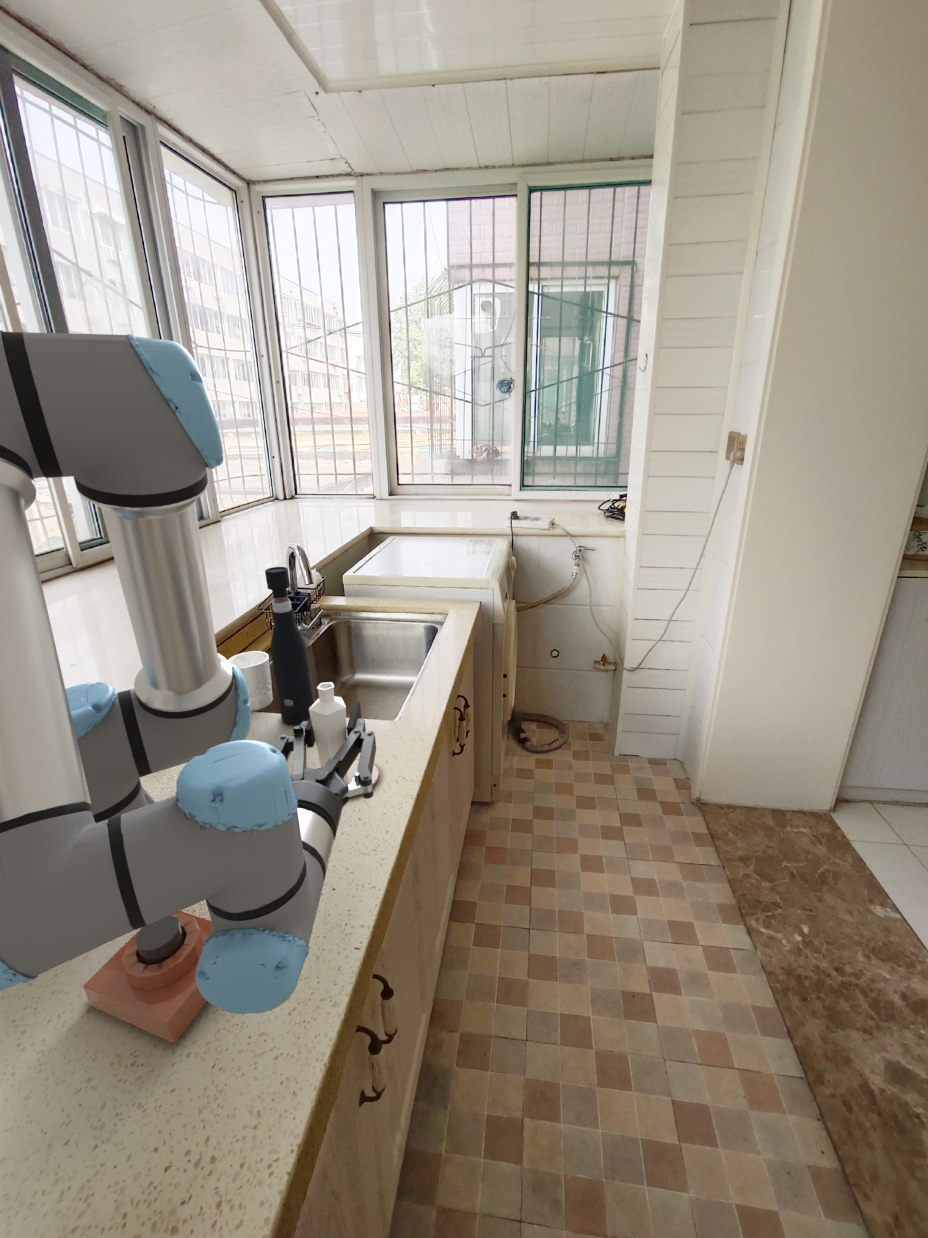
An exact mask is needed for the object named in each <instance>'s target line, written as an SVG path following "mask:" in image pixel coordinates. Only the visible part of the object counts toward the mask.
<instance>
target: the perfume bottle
mask: <svg viewBox="0 0 928 1238" xmlns="http://www.w3.org/2000/svg"><path fill="white" fill-rule="evenodd" d="M316 689H317V692H318V698H316V700H315V701H314V704H313V705H312V706H311V707H310V708H309V713H310V717H311V722H312V727H313V731H314V736H315V740H316V741H315V744H316V745H315V746H316V749H317V754H318V759H319V764H320V768H323V767H324V766H325V764H326V763H327V761H328V760H329V759H332V758H333V757H334V756H335V754H336V753H337V751H338V750H339V748H340V747H341V746H342V744H343V743H344V741H345V740H346V738H347V737H348V736H347V706H346V703H345V701H344V700H343V697H342V696H335V690H334V689H335V684H334V683H333V682H332V681H327V682H326V681H325V682H320V683H319V684H318V685H317V687H316ZM343 780H344V781H345V782H346V784H347V785H349V784H351V783H350V781H349V778H348V774H347V773H346V775H345V776H344V778H343Z"/></svg>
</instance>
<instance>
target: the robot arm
mask: <svg viewBox="0 0 928 1238" xmlns="http://www.w3.org/2000/svg"><path fill="white" fill-rule="evenodd" d="M200 371H201V370H200V369H199V367H198V365H197V363H196V361H195V359H194V358H193V356H192V354H190V352H189V351H188V350H187V348H185V347H184V346H183V345H181V344H180V343H178V342H176V341H174V340H169V339H160V338H149V337H141V336H135V335H133V334H131V333H127V334H108V333H107V334H106V333H105V334H104V333H69V332H68V333H65V332H29V331H28V332H27V331H26V332H25V331H23V332H21V331H3V330H2V329H0V992H3V991H5V990H7V989H9V988H12V987H15V986H17V985H19V984H21V983H25V984H27V983H31V982H32V981H34V980H36V979H37V978H38V977H39V975H41V974H44V973H46V972H48V971H50V970H52V969H55V968H56V967H59V966H61V965H63V964H65V963H67V962H69V961H72V960H73V959H76V958H78V957H80V956H82V955H84V954H86V953H88V952H91V951H93V950H95V949H97V948H99V947H101V946H104V945H106V944H108V943H110V942H112V941H115V940H116V939H119V938H121V937H122V936H126V935H127V934H130V933H131V932H133V931H137V930H140V929H141V928H142V927H144V926H146V925H149V924H152V923H154V922H156V921H158V920H160V919H163V918H165V917H167V916H169V915H172V914H174V913H176V912H178V911H184V910H185V909H187V908H189V907H191V906H194V905H196V904H199V903H200V902H203V901H205V903H206V907H207V911H208V914H209V917H210V918H209V919H210V921H211V922H212V926H211V932H210V935H209V936H208V938H207V939H206V940H205V941H204V943H203V945H202V953H201V956H200V959H199V962H198V965H197V968H196V975H195V979H196V984H197V988H198V990H199V991H200V993H201V995H202V996H203V997H204V998H205V999H206V1000H207V1002H208V1003H209V1004H211V1006H214V1007H215V1008H217V1009H219V1010H221V1011H225V1012H228V1013H231V1014H236V1015H248V1014H250V1015H251V1014H255V1015H256V1014H257V1015H258V1014H263V1013H267V1012H270V1011H272V1010H276V1009H277V1008H278V1007H281V1006H282V1005H283V1004H284V1003H285V1002H286V1001H288V1000H289V999H290V998H291V996H292V995H293V993H295V991H296V988H297V986H298V983H299V980H300V976H301V974H302V971H303V968H304V965H305V962H306V959H307V958H308V955H309V954H310V947H309V945H310V943H311V937H312V934H313V929H314V925H315V921H316V916H317V913H318V909H319V904H320V901H321V897H322V892H323V888H324V883H325V879H326V875H327V871H328V868H329V863H330V860H331V856H332V852H333V848H334V843H335V840H336V837H337V832H338V829H339V824H340V821H341V816H342V812H343V808H344V807H345V806H346V805H347V804H348V803H349V801H350V798H353V797H352V796H354V797H357V796H356V795H358V796H360V795H359V794H361V796H362V798H364V799H367V800H368V799H371V798H373V797H374V787H373V785H372V770H373V765H375V758H376V754H377V753H376V752H377V743H376V733H375V731H373V730H368V731H366V730H367V727H366V720H365V718H362V709H361V702H360V701H354V702H353V706H352V708H351V712H350V715H349V718H348V722H347V724H346V733H347V738H346V740H345V741H344V743H343V744H342V746H341V747H340V748H339V750H338V751H337V753H336V754H335V756H334V757H333V758H332V759H329V760H328V761H327V763H326V764H325V766H324V767H323V768H321V767H318V768H311V767H307V749H308V748H314V747H315V744H316V740H315V736H314V731H313V727H312V722H311V717H310V718H309V720H308V721H303V722H302V723H301V724H300V725H296V726H294V727H293V728H292V731H293V735H291V736H289V735H288V734H281V735H279V736H278V737H277V739H276V740H275V743H274V745H272V744H270V743H268V742H264V741H260V740H255V739H254V740H253V739H247V738H248V736H249V733H250V730H251V726H252V725H251V724H252V711H251V708H250V704H249V694H248V689H247V685H246V682H245V679H244V676H243V674H242V672H241V670H240V669H239V667H237V666H236V665H230V663H229V662H228V660H229V659H227V658H226V657H225V656H224V655H222V654H221V653H218V650H217V642H216V636H215V628H214V621H213V613H212V609H211V601H210V594H209V589H208V588H209V587H208V581H207V574H206V567H205V561H204V553H203V547H202V546H203V545H202V539H201V534H200V533H201V532H200V527H199V519H198V513H197V507H196V501H197V500H198V499H199V498H200V497H201V496H203V494H205V493H206V491H207V490H208V487H209V479H208V470H207V469H210V470H214V469H216V468H217V467H219V466H221V465H223V462H224V446H223V442H222V437H221V433H220V429H219V425H218V421H217V417H216V413H215V409H214V407H213V404H212V401H211V397H210V395H209V392H208V389H207V385H206V383H205V381H204V379H203V376H202V374H201V372H200ZM70 477H73V481H74V484H75V487H76V490H77V492H78V494H79V495H80V496H81V498H83V499H84V500H85V501H88V502H89V503H91V504H93V505H95V506H96V507H99V508H100V509H101V513H102V518H103V521H104V525H105V529H106V532H107V536H108V540H109V544H110V548H111V551H112V556H113V559H114V563H115V567H116V571H117V575H118V579H119V582H120V586H121V590H122V594H123V598H124V601H125V605H126V608H127V612H128V617H129V620H130V623H131V627H132V631H133V635H134V639H135V643H136V647H137V651H138V654H139V658H140V661H141V665H142V667H141V668H140V670H139V671H138V672H137V674H136V676H135V678H134V682H133V683H134V684H133V688H130V689H126V690H123V691H119V692H117V689H115V688H114V687H113V686H112V685H111V684H109V683H106V682H99V681H98V682H94V683H92V682H86V683H81V684H76V685H73V686H69V687H65V682H64V677H63V672H62V669H61V664H60V659H59V655H58V650H57V646H56V641H55V637H54V634H53V628H52V624H51V619H50V615H49V610H48V607H47V602H46V597H45V594H44V589H43V584H42V580H41V577H40V576H41V575H40V570H39V567H38V563H37V559H36V554H35V549H34V545H33V540H32V536H31V532H30V528H29V523H28V518H27V514H26V511H27V510H28V509H30V508H31V506H32V505H33V504H34V502H35V500H36V497H37V487H36V483H35V479H40V478H45V479H52V478H70ZM291 754H292V763H291V764H292V765H291V767H292V768H291V774H290V771H289V766H288V763H287V762H288V760H289V758H290V756H291ZM358 756H359V759H358V760H359V763H358V773H355V774H354V778H353V779H352V783H351V784H349V785H347V784H346V782H345V781H344V780H343V778H344V776H345V775H346V773H347V772H348V770H349V768H350V767H351V765H352V764H353V762H354V761H355V760H357V758H358ZM183 764H185V765H184V766H183V767H182V768H181V771H180V772H179V774H178V776H177V779H176V792H175V795H173V796H170V797H168V798H165V799H162V800H159V801H155V799H153V798H154V797H152V796H151V795H150V793H148V792H147V790H146V789H145V788H144V787H143V785H142V782H141V778H143V777H146V776H149V775H151V774H155V773H158V772H162V771H164V770H168V769H171V768H174V767H178V766H180V765H183Z"/></svg>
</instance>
